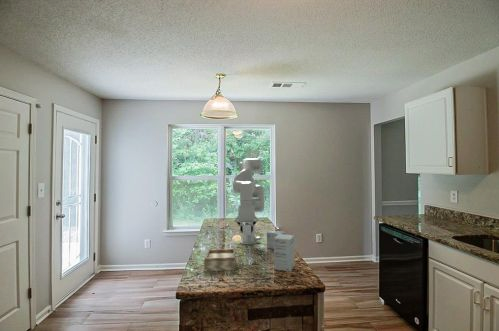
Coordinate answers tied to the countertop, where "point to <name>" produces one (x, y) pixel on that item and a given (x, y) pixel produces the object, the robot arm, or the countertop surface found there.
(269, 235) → the light bulb box
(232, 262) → the tray
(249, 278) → the countertop surface
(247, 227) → the block
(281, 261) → the supplement box
